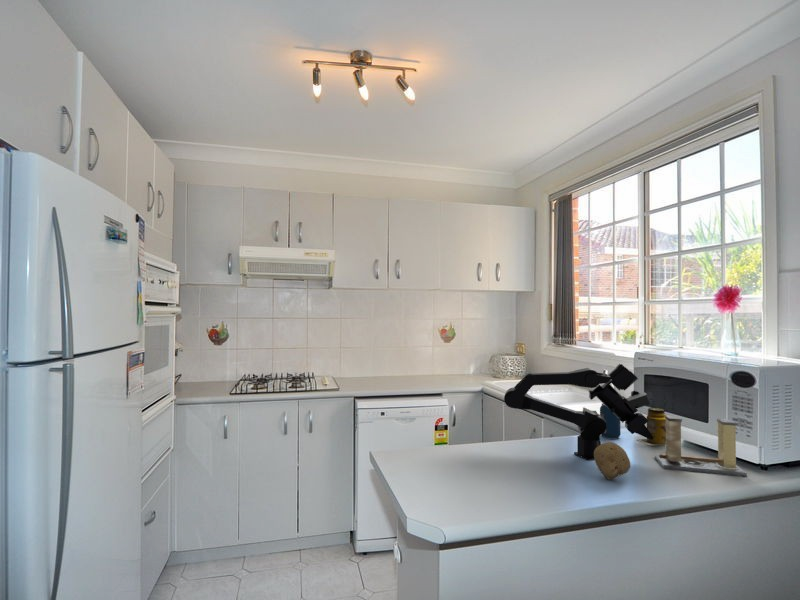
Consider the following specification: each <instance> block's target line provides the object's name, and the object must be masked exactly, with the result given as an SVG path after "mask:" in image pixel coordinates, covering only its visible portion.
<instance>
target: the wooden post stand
mask: <svg viewBox="0 0 800 600" xmlns="http://www.w3.org/2000/svg"><path fill="white" fill-rule="evenodd" d="M716 422H717V441H718V442H717V449H718V451H717V454H718V455H717V458H712V457H701V456H690V455H689V456H688V455H681V462H676V461H670V460H669V459H668V458H667V457H666V453H658V454H654V455H653V456H654V459H655V461H656V462H657V463H658V464H659V465H660V466H661V467H662V469H666V470H667V469H668V470H679V471H685V472H698V473H707V472H708V473H707V474H719V475H720V474H721V475H727V474H729V476H737V475H740V476H739V477H748V474H747V473H748V472H746V471H745V470H744V469H742V468H741V467H740V466H738V465H737V451H736V449H737V448H736V445H737V444H736V437H737V436H736V435H737V433H736V426H738V424H737V422H735V421H733V420H732V419H727V418H716Z"/></svg>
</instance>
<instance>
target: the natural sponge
mask: <svg viewBox="0 0 800 600" xmlns="http://www.w3.org/2000/svg"><path fill="white" fill-rule="evenodd" d="M593 460H594V461H595V465H596V467H597V468H598V470H599V472H600V473H601V474H602V476H603V477H604V478H606V479H607V480H615V479H616V478H618V477H620V476H621V475H625V474H627V473H628V472H629V471H630V468H631V460H630V458H629V456H628V454H627V452H626V451H625V449H624V448H623V447H622V446H620V445H619V444H617V443H616V442H612V441H608V442H603V443H602V442H601V444H600V445H599V446H598V447H597V448H596V449H595V451H594V459H593Z"/></svg>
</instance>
